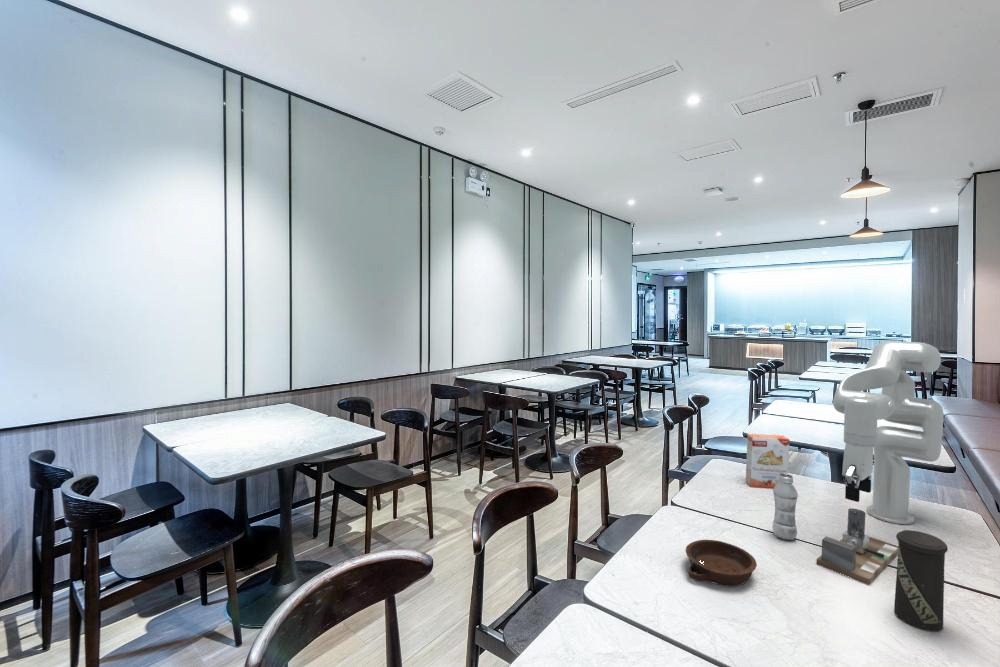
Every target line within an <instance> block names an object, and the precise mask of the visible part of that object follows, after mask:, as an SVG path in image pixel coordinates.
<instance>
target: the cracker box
mask: <svg viewBox="0 0 1000 667" xmlns="http://www.w3.org/2000/svg"><path fill="white" fill-rule="evenodd" d="M746 436H747V440H746V442H747V443H746V462H745V464H746V465H745V483H747V485H748V486H750V488H763V489H764V488H765V489H766V488H767V489H774V487H775V486H776V485H777V484H778V483H779V482H780V481H779V474H788V473H789V455H790V439H789V438H788V437H786V436H785V435H783V434H782V435H780V434H778V435H777V434H761V433H747V435H746ZM788 475H789V474H788Z"/></svg>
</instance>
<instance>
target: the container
mask: <svg viewBox="0 0 1000 667" xmlns="http://www.w3.org/2000/svg"><path fill="white" fill-rule="evenodd" d="M895 536H896V540H897V541H898V542H897V543H898V544H897V546H898V555H897V559H896V560H897V562H896V563H897V564H896V565H897V566H896V575H895V576H896V578H895V591H894V592H895V593H894V602H893V604H894V606H893V609H894V610H893V611H894V614H895V616H896V617H897V618H899V619H900V621H902V622H904V623H906V624H907V625H908V624H909V625H910V626H911V627H915V628H918V629H921V630H924V631H929V632H930V631H931V632H938V631H941V630H942V629H944V602H945V601H944V600H945V599H944V595H945V594H944V593H945V562H946V561H945V558H946V555H945V554H946V553H947V552H948V548H949V547H948V545H947V544H946V543H945V542H944V541H943V540H942V539H941V538H939V537H937V536H935V535H932V534H929V533H927V532H922V531H918V530H913V529H911V530H909V529H905V530H901V531H899V532H897V533H896V535H895Z"/></svg>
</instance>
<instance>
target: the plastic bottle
mask: <svg viewBox="0 0 1000 667" xmlns="http://www.w3.org/2000/svg"><path fill="white" fill-rule="evenodd" d="M779 481H780V482H779V483H778V484H777V485H776V486H775V487H774V488H772V490H773V498H774V517H773V518H774V519H773V522H772V525H771V527H772V532H773V534H774V535H775V537H777V538H779V539H782V540H786V541H792V540H795V538H797V535H798V530H797V529H798V528H797V524H796V523H797V522H796V507H797V503H798V502H797V501H798V496H799V494H798V491H797V489H796V487H795V485H794V484H793V483H794V476H793V475H791V474H779Z"/></svg>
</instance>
